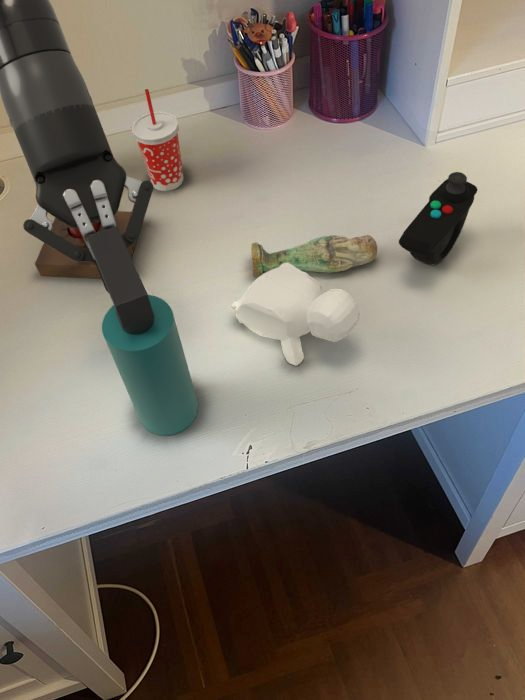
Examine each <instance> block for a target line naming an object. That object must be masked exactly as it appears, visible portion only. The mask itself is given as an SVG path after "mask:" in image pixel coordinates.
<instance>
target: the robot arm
mask: <svg viewBox="0 0 525 700" xmlns="http://www.w3.org/2000/svg"><path fill="white" fill-rule="evenodd" d="M0 99H1V102H2V104H3V107H4V110H5V112H6V114H7V117H8V121H9V124H10V126H11V128H12V129H13V132H14V134H15V137H16V140H17V142H18V144H19V147H20V149H21V151H22V154H23V156H24V159H25V161H26V163H27V166H28V169H29V171H30V173H31V176H32V178H33V182H34V183H35V189H36V190H35V201H36V203H37V206H36V208H35V209H34V211H33V213H31V216H30V217H29V219H26V220H25V221H24V222H23V223H22V227H23V230H24V232H26V233H27V234H29V235H31V236H33V237H34V238H36V239H38V240H39V241H41V242H42V243H43V244H44V243H46V244H47V245H49V246H51V247H53V248H54V249H56V250H58V251H59V252H61V253H63V254H64V255H66V256H68V257H69V258H71V259H73V260H74V261H76V262H92V263H94V264H95V265H96V267H97V269H98V272H99V274H100V277H101V281H102V284H103V286H104V289H105V291H106V292H107V293H108V294H109V292H108V289H107V287H106V285H105V282H104V280H103V277H102V275H101V272H100V270H99V267H98V265H97V262H96V260H95V257H94V255H93V252H92V250H91V247H90V244H89V242H88V239H87V236H90V235H93V234H96V232H95V230H94V228H93V226H92V224H93V223H95V222H100V223H101V226H102V230H107V229H110V228H113V227H117V226H116V223H115V219H114V216H115V215H116V213H117V211H119V208H120V204H121V201H122V197H123V193H124V189H126V190H127V192H128V193H127V198H128V200H129V202H131V203H133V207H132V211H131V212H132V213H131V216H130V219H129V223H128V226H127V229H126V232H125V233H124V234H123V235H122V236H121V237H122V239H123V241H124V243H125V245H126V248H128V247H129V246H130V245H132V244H133V243H135V242H136V241H138V239H139V236H140V234H141V231H142V227H143V225H144V224H143V223H144V220H145V217H146V214H147V210H148V207H149V205H150V201H151V198H152V194H153V191H154V187H153V184H152V183H151V181H150V180H147V179H146V180H140V179H138V178H135V177H132V176H129V175H127V173H126V170H125V168H124V167H123V166H122V165H120V164H119V163H118V162H117V160H116V157H114V153H113V151H112V149H111V146H110V144H109V140H108V139H107V136H106V134H105V131H104V128H103V125H102V123H101V120H100V118H99V115H98V113H97V110H96V107H95V104H94V102H93V98H92V96H91V94H90V91H89V88H88V86H87V84H86V81H85V79H84V77H83V75H82V72H81V71H80V69H79V66H78V65H77V63H76V61H75V59H74V57H73V56H72V52H71V49H70V48H69V45H68V42H67V39H66V36H65V34H64V32H63V29H62V26H61V24H60V22H59V19H58V16H57V13H56V11H55V9H54V7H53V4H52V3H51V1H50V0H0ZM48 214H49V215H51V216H53V217H54V219H55V218H57V219H59V220H60V221H62V222H63V223H65V224H66V225H68V226H69V227H71V228H74V229H79V231H80V233H81V235H82V237H83V239H84V241H85V243H86V245H87V247H88V248H79V247H77V246H75V245H74V244H72V243H70V242H69V241H67V240H65V239H64V238H62V237H60V236H59V235H57V234H55V233H54V232H52V229H53V222H52V220H50V219H49V218H48ZM136 243H137V242H136Z"/></svg>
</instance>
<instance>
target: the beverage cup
mask: <svg viewBox="0 0 525 700" xmlns="http://www.w3.org/2000/svg"><path fill="white" fill-rule="evenodd" d="M144 93H145V97H146V102H147V105H148V110H149V112H147V113H145V114H142V115H141V116H138V117H137V118H136V119H135V120H134V121H133V123H132V125H131V132H132V135H133V138H134V139H135V140H136V141H137V146H138V148H139V151H140V153H141V157H142V160H143V162H144V165H145V168H146V173H147V174H148V178H149V181H150V182H151V183H152V184H153V189H155V190H157V191H160V192H169V191H173V190H175V189H177V188H179V187H180V186H181V185H182V184H183V182H184V178H185V177H184V171H183V170H184V169H183V163H182V154H181V147H180V140H179V133H178V132H179V129H180V127H179V122H178V117H176V116H175V115H174V114H173V113H171V112H167V111H154V107H153V103H152V98H151V93H150V90H149V89H148V88H145V89H144Z"/></svg>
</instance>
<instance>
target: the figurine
mask: <svg viewBox="0 0 525 700" xmlns="http://www.w3.org/2000/svg"><path fill="white" fill-rule="evenodd" d="M250 247H251V248H250V249H251V261H252V262H251V263H252V272H253V273H252V274H253V276H255V277H260V276H261V275H262V274H264V273H266V272H268V271H270V270H273V269H275V268H279V266H280V265H282V264H283V263H290V264H291V265H293V266H294V267H296V268H298V269H299V270H301V271H302V272H314V273H315V272H317V273H329V274H330V273H340V272H345V271H347V270H350V269H351V268H353V267H357V266H362V265H366V264H369V263H371V262H372V261H374V260H375V258H376V257H377V255H378V245H377V241H376V240H375V238H374V237H372V236H371V235H369V234H364V235H361V236H355V237H352V238H348V237H346V236H344V235H343V236H342V235H336V234H335V235H334V234H333V235H332V234H331V235H325V236H319V237H316V238H313V239H312V240H309V241H308V242H305V243H302V244H299V245H297V246H293V247H292V248H288V249H285V250H279V251H275V252H271V253H269V252H267V251H266V250H265V248H264V247H263V245H262V244H260V243H259V242H258V241H256V242H252V243H251V246H250Z"/></svg>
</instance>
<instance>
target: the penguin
mask: <svg viewBox="0 0 525 700" xmlns="http://www.w3.org/2000/svg"><path fill="white" fill-rule="evenodd" d="M322 290H323V289H322V284H321V283H320V281H317V280H316V279H315V278H313V277H312V276H310V275H309V273H307V271H303V270H299V269H298V268H296V267H294V266H293V265H291V264H290V263H283V264H282V265H280V266H279V268H275V269H273V270H270V271H268V272H266V273H264V274H262V275H261V276H257V278H256V279H255V280H254V281H253V282H252V283H251V284H250V286H249V287H248V288H247V290H246V291H245V293H244V294H243V295H241V296H240V298H239V300H235V301H233V303H232V304H231V305H230V307H231V308H232V309H233V310H234V312H235V318H236V319H237V321H238V323H240V324H243V325H244V326H246V328H248V329H249V330H250V331H251V332H253V333H254V334H256V335H258V336H260V337H263V338H265V337H266V338H267V339H273V340H279V341H280V344H281V345H280V347H281V350H282V352H283V353H282V354H283V357H284V358H285V360H286V362H287V363H288V364H290V365H293V366H295V367H297V366H298V365H300V364H301V363H302V362H303V360H304V359H305V354H304V352H303V347H302V342H301V338H300V337H302V336H304V335H306V334H308V333H311V335H312V336H314V337H315V338H317V339H323V340H326V341H329V342H335V343H336V342H339V341H341V340H342V339H344V338H345V337H346V336H348V335H349V334H350V333H351V332H352V331H353V330H354V329H355V327H356V326H357V325H358V321H359V319H360V311H359V309H358V306H357V303H356V301H355V300H354V298H353V297H352V295H351V294H350V293H349V292H347V291H346V290H344V289H341V288H331V289H328V290H326V291H324V292H323V291H322Z"/></svg>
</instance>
